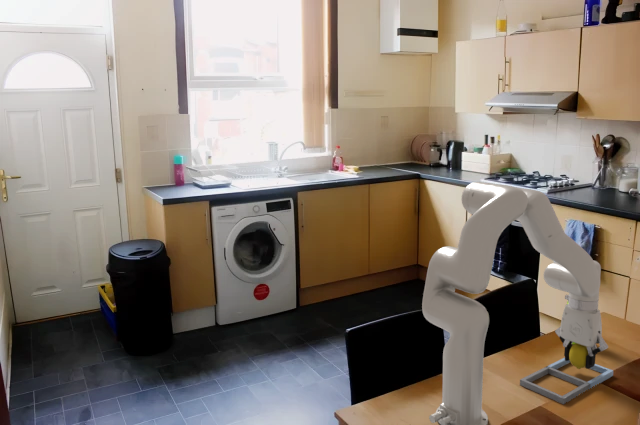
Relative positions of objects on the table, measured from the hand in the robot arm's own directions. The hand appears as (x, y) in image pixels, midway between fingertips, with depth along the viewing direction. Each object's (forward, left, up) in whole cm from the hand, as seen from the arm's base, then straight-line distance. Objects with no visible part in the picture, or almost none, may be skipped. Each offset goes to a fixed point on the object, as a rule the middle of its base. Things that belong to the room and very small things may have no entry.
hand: (579, 362), depth 159 cm
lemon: (0, 0, -2) cm, 2 cm away
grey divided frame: (-6, 0, -3) cm, 7 cm away
